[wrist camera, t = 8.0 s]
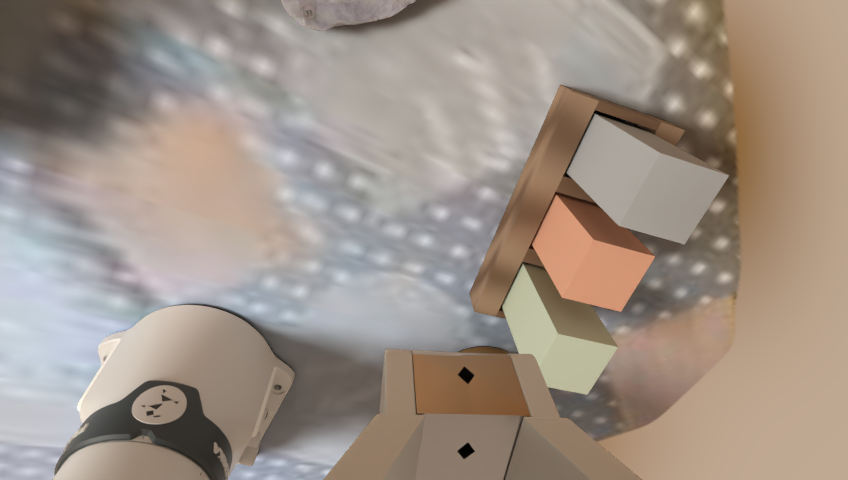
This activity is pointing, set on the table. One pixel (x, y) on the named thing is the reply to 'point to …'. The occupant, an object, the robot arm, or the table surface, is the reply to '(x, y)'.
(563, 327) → the sage block
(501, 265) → the walnut rack
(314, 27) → the stone block
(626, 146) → the slate block
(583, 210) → the terracotta block
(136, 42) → the table surface
